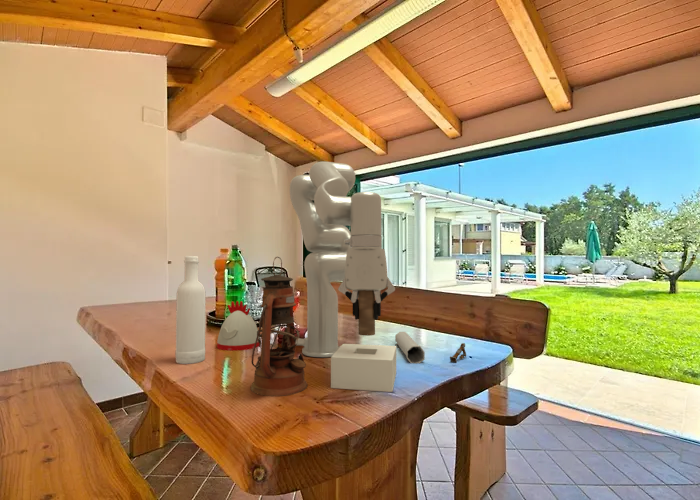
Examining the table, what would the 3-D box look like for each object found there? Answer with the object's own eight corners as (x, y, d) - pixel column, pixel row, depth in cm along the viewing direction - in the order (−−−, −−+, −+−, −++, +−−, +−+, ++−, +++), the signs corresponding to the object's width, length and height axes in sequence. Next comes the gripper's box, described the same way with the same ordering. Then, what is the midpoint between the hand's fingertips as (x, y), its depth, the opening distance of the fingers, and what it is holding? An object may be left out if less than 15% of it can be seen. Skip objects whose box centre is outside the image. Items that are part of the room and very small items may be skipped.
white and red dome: (232, 340, 138) (232, 298, 139) (267, 342, 135) (267, 299, 135) (208, 349, 125) (208, 302, 125) (246, 352, 121) (246, 304, 122)
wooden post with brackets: (469, 354, 116) (466, 341, 115) (458, 370, 110) (455, 357, 109) (463, 353, 117) (461, 340, 116) (452, 369, 112) (449, 356, 110)
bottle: (170, 360, 111) (171, 256, 111) (197, 355, 117) (198, 256, 117) (182, 365, 106) (184, 256, 106) (210, 360, 111) (211, 256, 112)
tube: (391, 332, 134) (403, 349, 109) (405, 327, 134) (421, 342, 109) (396, 347, 134) (409, 367, 109) (410, 342, 134) (427, 360, 109)
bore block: (330, 387, 88) (331, 357, 88) (343, 370, 102) (343, 343, 102) (392, 392, 86) (392, 360, 86) (396, 373, 99) (396, 346, 100)
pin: (357, 335, 92) (356, 284, 92) (359, 332, 96) (359, 283, 96) (374, 335, 91) (373, 284, 92) (376, 332, 95) (375, 284, 95)
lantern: (290, 402, 80) (291, 256, 80) (234, 396, 83) (235, 256, 83) (318, 377, 96) (318, 256, 97) (270, 373, 99) (271, 256, 100)
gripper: (329, 243, 92) (329, 320, 91) (399, 242, 89) (400, 322, 88) (336, 244, 100) (336, 316, 99) (401, 243, 97) (402, 317, 96)
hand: (366, 318), depth 94 cm, fingers closed on pin, 4 cm apart
